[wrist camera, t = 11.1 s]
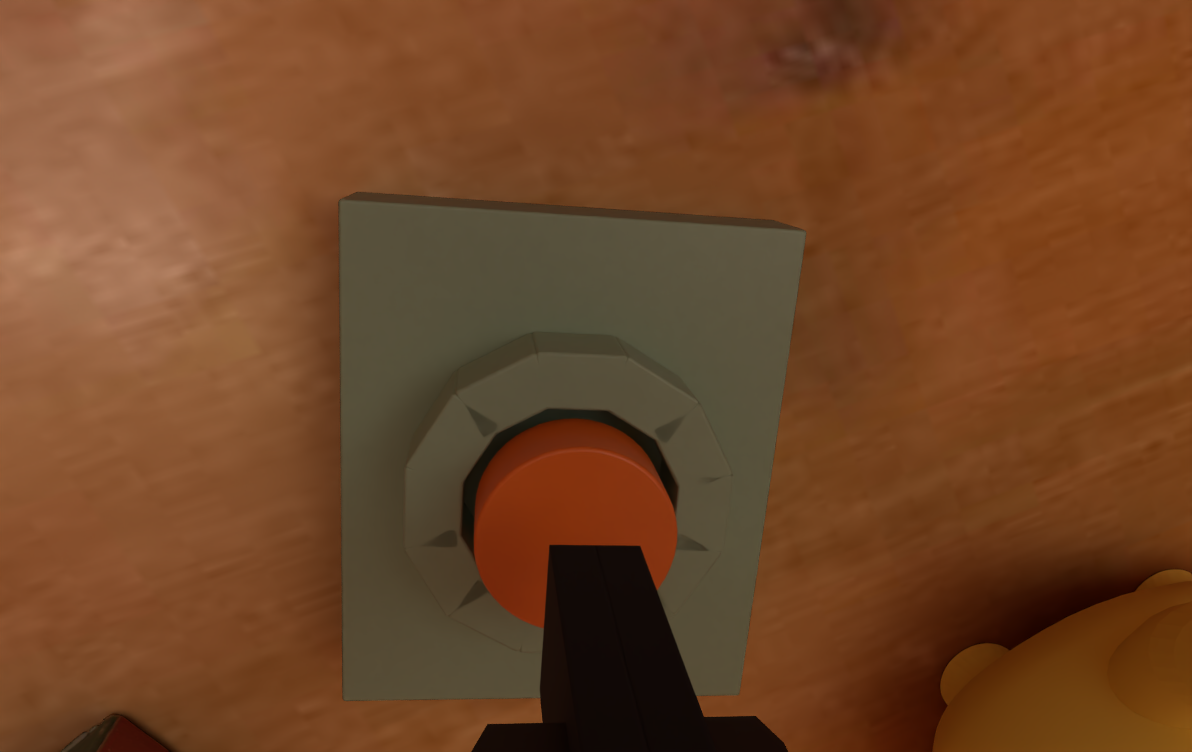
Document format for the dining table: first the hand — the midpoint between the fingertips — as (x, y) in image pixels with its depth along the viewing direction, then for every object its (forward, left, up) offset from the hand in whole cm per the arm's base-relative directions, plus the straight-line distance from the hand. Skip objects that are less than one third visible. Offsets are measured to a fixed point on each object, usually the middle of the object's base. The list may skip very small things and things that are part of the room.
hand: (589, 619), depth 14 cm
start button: (0, 0, -4) cm, 4 cm away
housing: (0, 0, -8) cm, 8 cm away
